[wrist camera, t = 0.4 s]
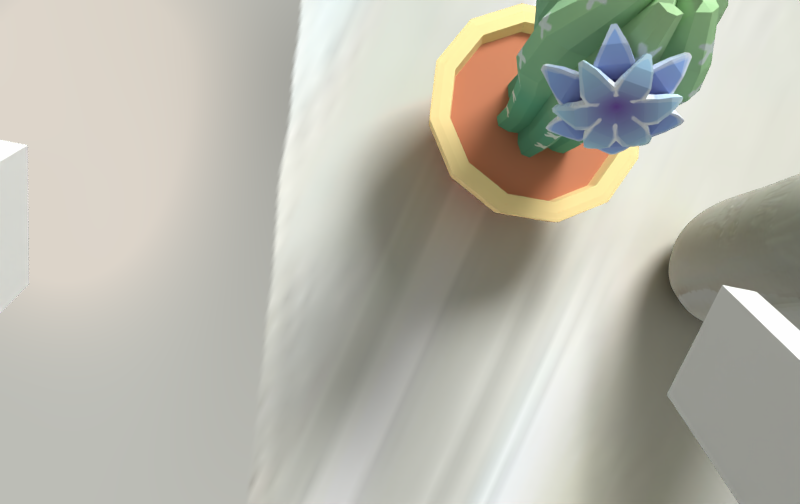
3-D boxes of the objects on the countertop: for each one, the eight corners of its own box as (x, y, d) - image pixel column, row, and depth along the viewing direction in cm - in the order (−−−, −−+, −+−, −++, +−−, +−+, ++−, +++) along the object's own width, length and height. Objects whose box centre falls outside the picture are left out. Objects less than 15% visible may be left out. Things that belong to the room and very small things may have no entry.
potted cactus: (364, 120, 50) (451, -96, 25) (512, 19, 53) (713, -255, 29) (485, 280, 50) (688, 219, 25) (625, 169, 53) (920, 21, 29)
